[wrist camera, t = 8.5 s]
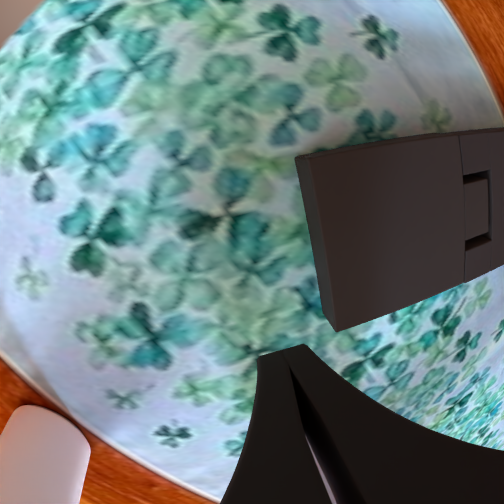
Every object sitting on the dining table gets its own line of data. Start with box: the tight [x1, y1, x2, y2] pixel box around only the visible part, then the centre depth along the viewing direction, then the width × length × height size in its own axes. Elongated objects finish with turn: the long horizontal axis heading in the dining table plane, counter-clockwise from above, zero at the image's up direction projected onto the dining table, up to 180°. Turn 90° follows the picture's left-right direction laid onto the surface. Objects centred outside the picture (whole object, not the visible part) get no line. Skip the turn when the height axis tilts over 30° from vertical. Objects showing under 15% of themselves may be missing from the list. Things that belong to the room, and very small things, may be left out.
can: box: [0, 405, 91, 504], centre depth 11 cm, size 6×6×12 cm
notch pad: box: [448, 127, 504, 283], centre depth 15 cm, size 8×8×2 cm
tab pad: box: [295, 133, 488, 332], centre depth 14 cm, size 8×10×2 cm
